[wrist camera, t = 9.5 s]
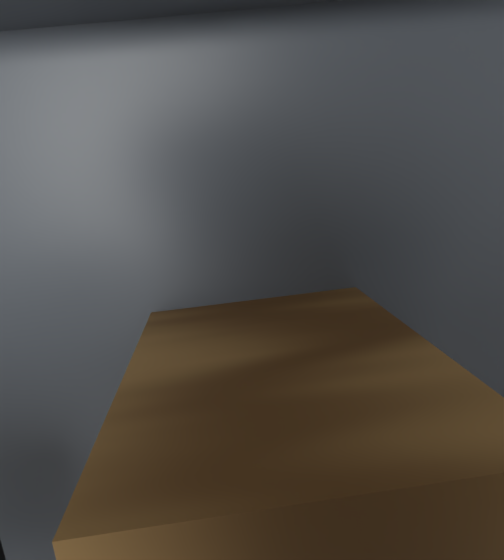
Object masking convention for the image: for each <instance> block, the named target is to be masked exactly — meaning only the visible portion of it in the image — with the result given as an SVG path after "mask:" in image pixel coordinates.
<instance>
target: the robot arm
mask: <svg viewBox="0 0 504 560" xmlns="http://www.w3.org/2000/svg"><path fill="white" fill-rule="evenodd" d="M0 560H6V559H5V554H4V551H3V547H2V543H1V540H0Z"/></svg>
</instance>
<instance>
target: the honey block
mask: <svg viewBox="0 0 504 560" xmlns="http://www.w3.org/2000/svg"><path fill="white" fill-rule="evenodd" d="M52 544H53V548H54V553H55V557H56V560H504V397H502V396H501V395H500V394H498V393H497V392H496V391H494V390H493V389H492V388H490V387H489V386H488V385H486V384H485V383H484V382H482V381H481V380H480V379H478V378H477V377H475V376H474V375H473V374H471V373H470V372H469V371H467V370H466V369H465V368H463V367H462V366H461V365H459V364H458V363H457V362H455V361H454V360H453V359H451V358H450V357H449V356H447V355H446V354H445V353H443V352H442V351H441V350H439V349H438V348H437V347H435V346H434V345H433V344H431V343H430V342H429V341H427V340H426V339H425V338H423V337H422V336H421V335H419V334H418V333H416V332H415V331H414V330H412V329H411V328H410V327H408V326H407V325H406V324H404V323H403V322H402V321H400V320H399V319H398V318H396V317H395V316H394V315H392V314H391V313H390V312H388V311H387V310H386V309H384V308H383V307H382V306H380V305H379V304H378V303H376V302H375V301H374V300H372V299H371V298H370V297H368V296H367V295H366V294H364V293H363V292H362V291H360V290H359V289H358V288H356V287H353V288H345V289H337V290H329V291H321V292H313V293H305V294H297V295H288V296H280V297H272V298H264V299H256V300H248V301H240V302H232V303H224V304H216V305H208V306H199V307H191V308H183V309H175V310H167V311H159V312H151V314H150V316H149V318H148V321H147V323H146V325H145V328H144V330H143V332H142V335H141V337H140V339H139V342H138V344H137V346H136V349H135V351H134V353H133V356H132V358H131V360H130V362H129V365H128V367H127V369H126V372H125V374H124V376H123V379H122V381H121V383H120V386H119V388H118V390H117V393H116V395H115V397H114V400H113V402H112V404H111V406H110V409H109V411H108V413H107V416H106V418H105V420H104V423H103V425H102V427H101V430H100V432H99V434H98V437H97V439H96V441H95V444H94V446H93V448H92V450H91V453H90V455H89V457H88V460H87V462H86V464H85V467H84V469H83V471H82V474H81V476H80V478H79V481H78V483H77V485H76V488H75V490H74V492H73V494H72V497H71V499H70V501H69V504H68V506H67V508H66V511H65V513H64V515H63V518H62V520H61V522H60V525H59V527H58V529H57V532H56V534H55V536H54V539H53V541H52Z"/></svg>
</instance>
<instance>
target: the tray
mask: <svg viewBox="0 0 504 560" xmlns="http://www.w3.org/2000/svg"><path fill="white" fill-rule="evenodd" d="M353 287H356V288H358V289H359V290H360V291H362V292H363V293H364V294H366V295H367V296H368V297H370V298H371V299H372V300H374V301H375V302H376V303H378V304H379V305H380V306H382V307H383V308H384V309H386V310H387V311H388V312H390V313H391V314H392V315H394V316H395V317H396V318H398V319H399V320H400V321H402V322H403V323H404V324H406V325H407V326H408V327H410V328H411V329H412V330H414V331H415V332H416V333H418V334H419V335H421V336H422V337H423V338H425V339H426V340H427V341H429V342H430V343H431V344H433V345H434V346H435V347H437V348H438V349H439V350H441V351H442V352H443V353H445V354H446V355H447V356H449V357H450V358H451V359H453V360H454V361H455V362H457V363H458V364H459V365H461V366H462V367H463V368H465V369H466V370H467V371H469V372H470V373H471V374H473V375H474V376H475V377H477V378H478V379H480V380H481V381H482V382H484V383H485V384H486V385H488V386H489V387H490V388H492V389H493V390H494V391H496V392H497V393H498V394H500V395H501V396H502V397H504V0H0V540H1V543H2V547H3V551H4V554H5V559H6V560H56V557H55V553H54V548H53V544H52V541H53V539H54V536H55V534H56V532H57V529H58V527H59V525H60V522H61V520H62V518H63V515H64V513H65V511H66V508H67V506H68V504H69V501H70V499H71V497H72V494H73V492H74V490H75V488H76V485H77V483H78V481H79V478H80V476H81V474H82V471H83V469H84V467H85V464H86V462H87V460H88V457H89V455H90V453H91V450H92V448H93V446H94V444H95V441H96V439H97V437H98V434H99V432H100V430H101V427H102V425H103V423H104V420H105V418H106V416H107V413H108V411H109V409H110V406H111V404H112V402H113V400H114V397H115V395H116V393H117V390H118V388H119V386H120V383H121V381H122V379H123V376H124V374H125V372H126V369H127V367H128V365H129V362H130V360H131V358H132V356H133V353H134V351H135V349H136V346H137V344H138V342H139V339H140V337H141V335H142V332H143V330H144V328H145V325H146V323H147V321H148V318H149V316H150V314H151V312H159V311H167V310H175V309H183V308H191V307H199V306H208V305H216V304H224V303H232V302H240V301H248V300H256V299H264V298H272V297H280V296H288V295H297V294H305V293H313V292H321V291H329V290H337V289H345V288H353Z"/></svg>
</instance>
